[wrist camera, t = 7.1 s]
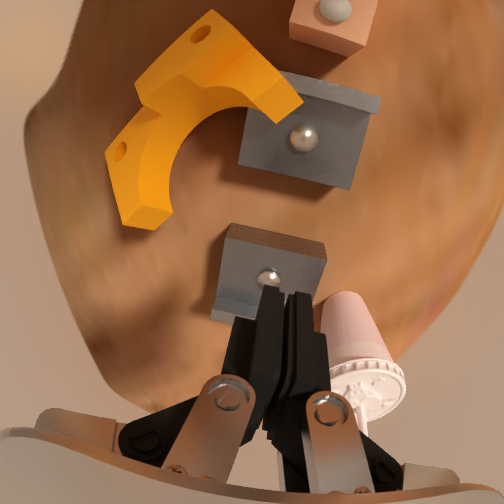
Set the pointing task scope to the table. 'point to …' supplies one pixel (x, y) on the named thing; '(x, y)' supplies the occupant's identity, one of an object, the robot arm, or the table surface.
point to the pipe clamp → (187, 110)
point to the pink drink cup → (360, 359)
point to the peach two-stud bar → (332, 24)
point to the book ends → (297, 165)
